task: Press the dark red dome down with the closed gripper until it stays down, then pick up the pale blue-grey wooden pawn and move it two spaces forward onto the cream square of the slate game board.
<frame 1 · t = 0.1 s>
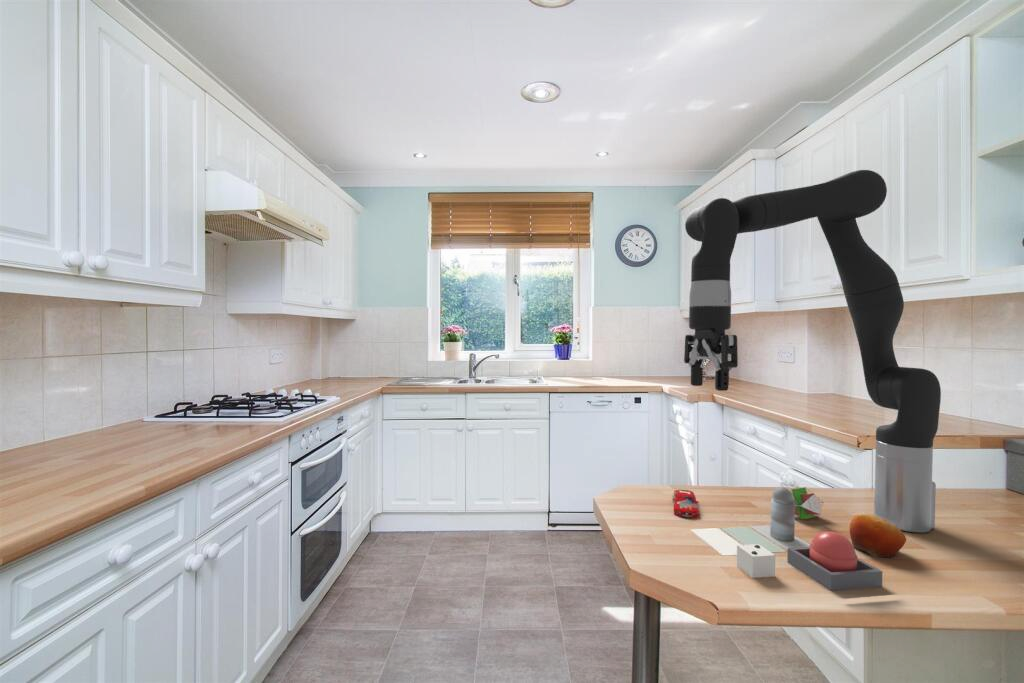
hand: (708, 387, 91), 29 cm above the counter, tool pointing down, fingers open, 8 cm apart
dome: (832, 551, 76), point 4 cm above the counter, slide at 0.0 cm
pawn: (782, 537, 89), point 1 cm above the counter, touching game board
race car: (684, 512, 104), on the counter
geometric puzzle: (803, 520, 100), on the counter
dome housing: (832, 577, 76), on the counter
die: (755, 574, 76), on the counter
fruit: (875, 554, 84), on the counter
game board: (751, 542, 88), on the counter
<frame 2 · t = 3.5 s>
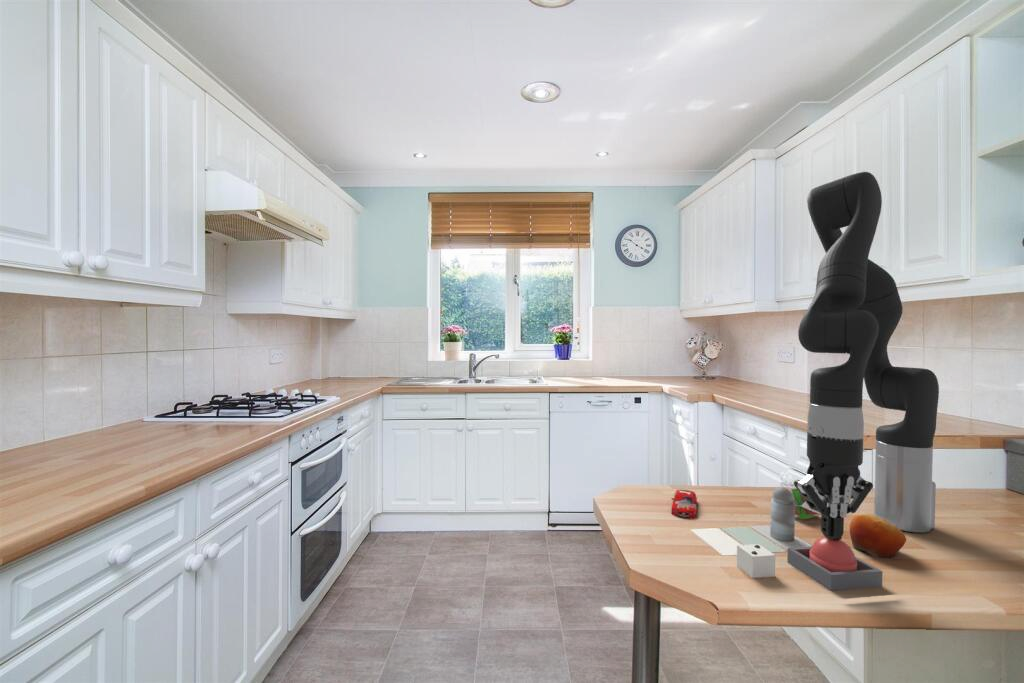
hand: (831, 537, 76), 6 cm above the counter, tool pointing down, fingers closed
dome: (832, 556, 76), point 3 cm above the counter, slide at 0.8 cm, touching gripper
everything else where it was.
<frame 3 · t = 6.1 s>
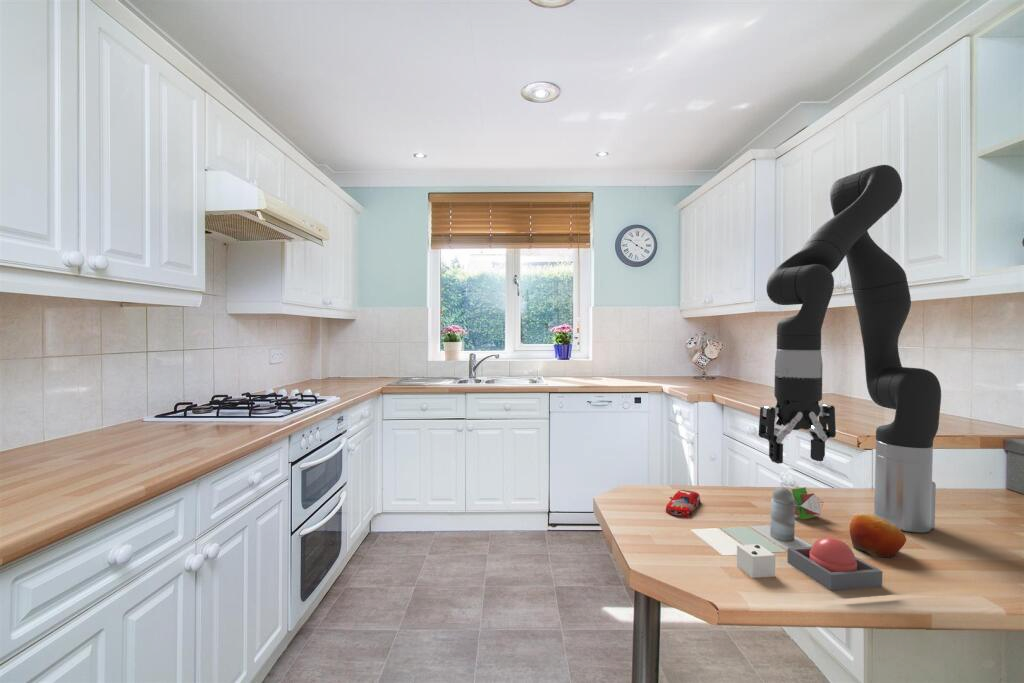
hand: (796, 461, 86), 16 cm above the counter, tool pointing down, fingers open, 8 cm apart
dome: (832, 556, 76), point 3 cm above the counter, slide at 0.9 cm
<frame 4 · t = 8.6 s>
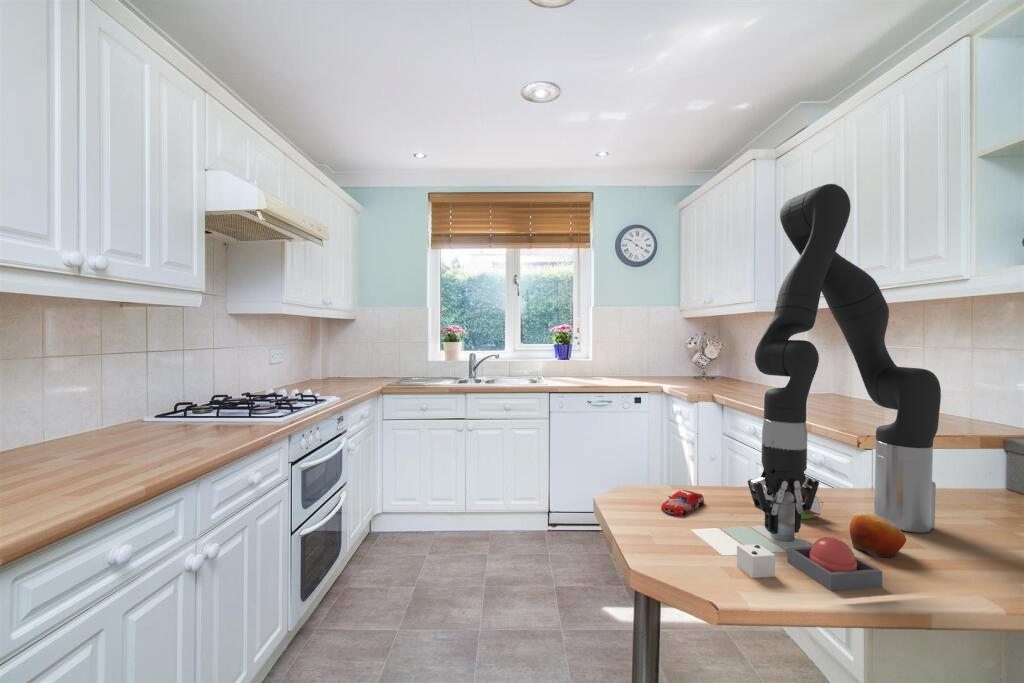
hand: (782, 531, 89), 2 cm above the counter, tool pointing down, fingers closed on pawn, 4 cm apart
pawn: (782, 537, 89), point 1 cm above the counter, touching game board, gripper
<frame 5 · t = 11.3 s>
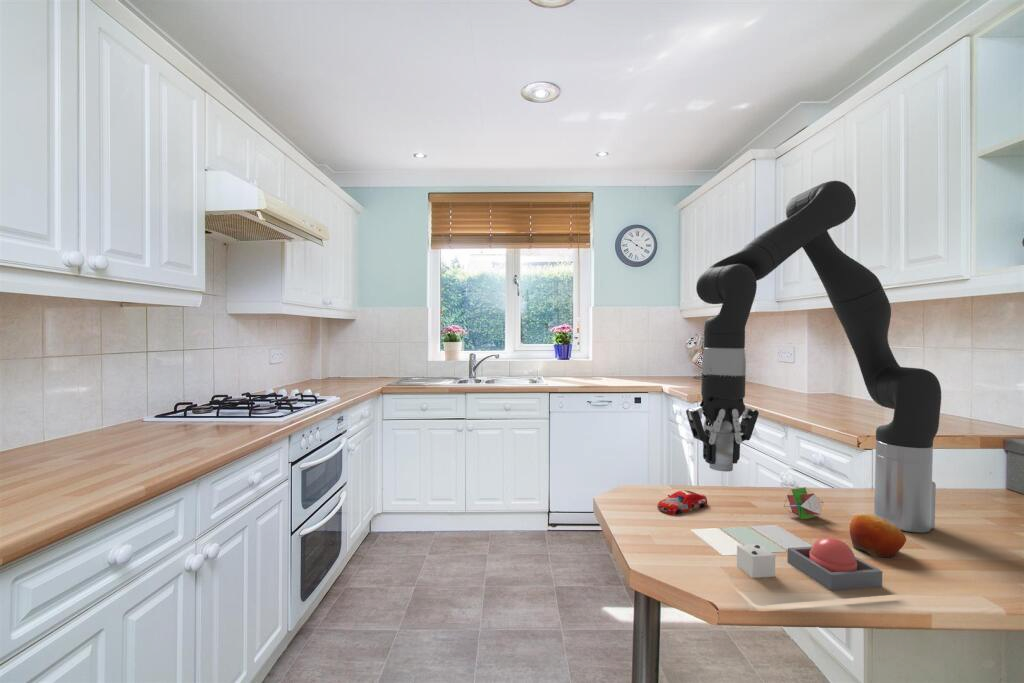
hand: (721, 462, 87), 15 cm above the counter, tool pointing down, fingers closed on pawn, 4 cm apart
pawn: (721, 468, 87), point 14 cm above the counter, touching gripper
when the fingers open (3 cm above the counter, at t = 14.0 s): pawn drops 1 cm, resting on game board.
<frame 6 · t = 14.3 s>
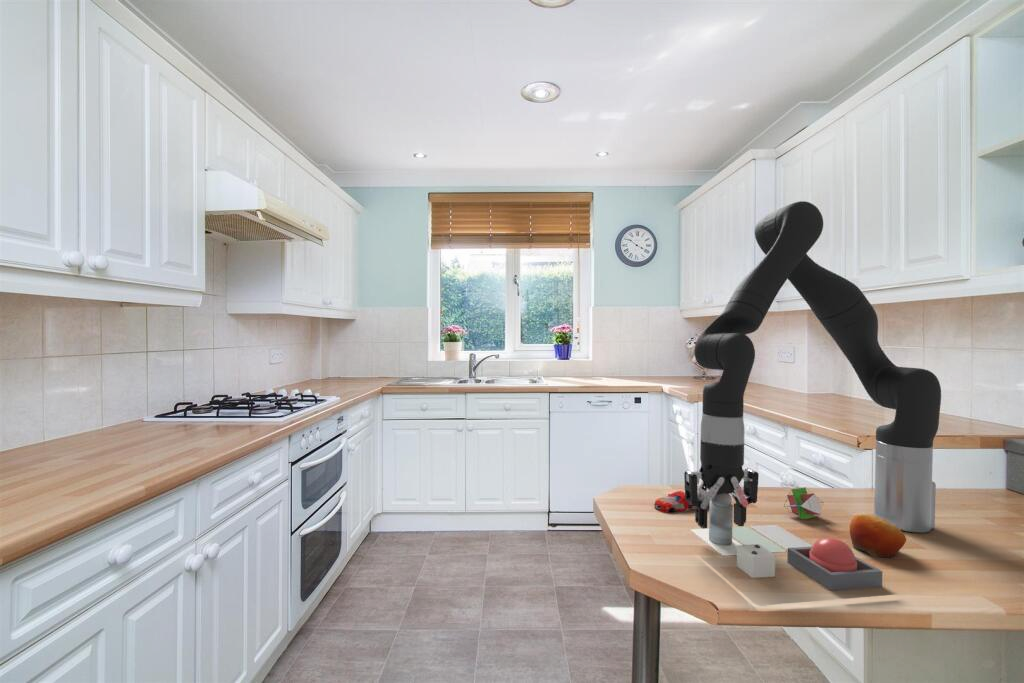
hand: (720, 525, 87), 3 cm above the counter, tool pointing down, fingers open, 7 cm apart
pawn: (720, 540, 87), point 1 cm above the counter, touching game board
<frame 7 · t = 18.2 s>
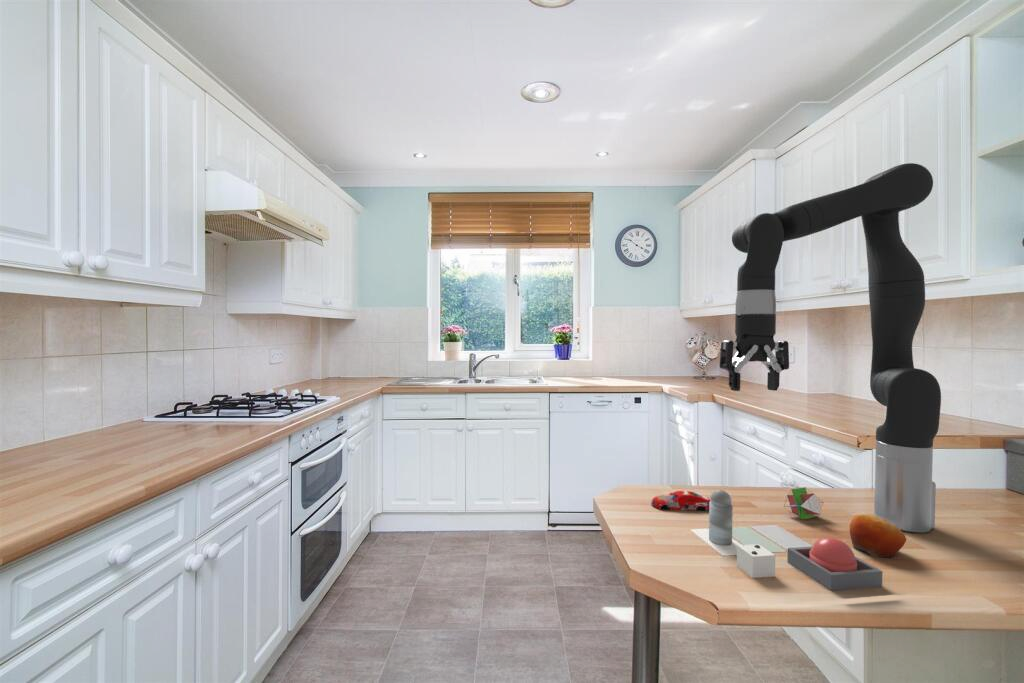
hand: (753, 390, 97), 28 cm above the counter, tool pointing down, fingers open, 8 cm apart
at the end: dome slide at 0.9 cm; pawn 0.0 cm from the target spot, point 0.6 cm above the counter; pawn tilted 0° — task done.
